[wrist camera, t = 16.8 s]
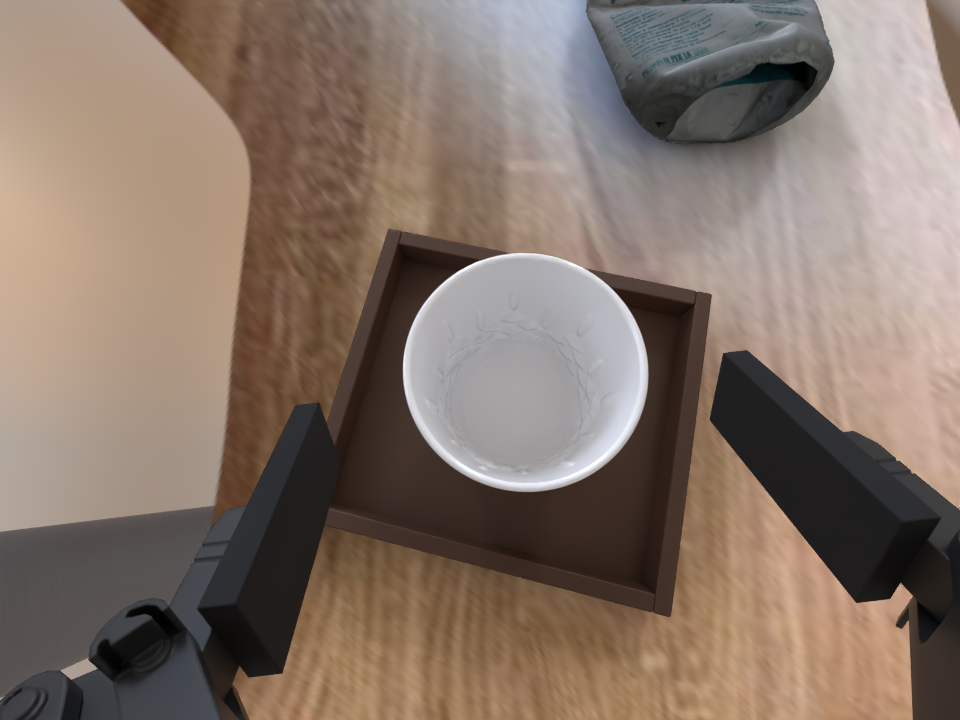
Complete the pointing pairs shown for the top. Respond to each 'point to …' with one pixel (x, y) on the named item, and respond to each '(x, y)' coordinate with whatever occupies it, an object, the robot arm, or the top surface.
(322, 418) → the robot arm
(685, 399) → the serving tray
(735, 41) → the grey hollow crumpled part
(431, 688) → the top surface
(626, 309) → the white cup
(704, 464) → the top surface
